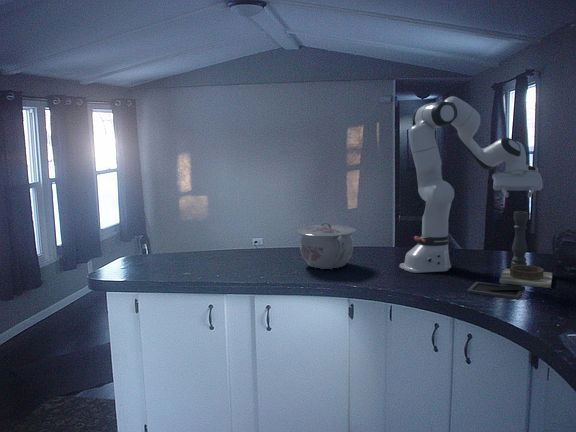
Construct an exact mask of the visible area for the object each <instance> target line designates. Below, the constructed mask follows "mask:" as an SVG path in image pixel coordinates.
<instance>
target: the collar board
mask: <svg viewBox="0 0 576 432" xmlns="http://www.w3.org/2000/svg"><path fill="white" fill-rule="evenodd" d="M552 280H553V272H548V271H545V270H544V268H542V267H540V266H535V265H531V264H530V265H528V264H527V265H514V266H511V265H510V267H509V268H504V270H503V271H502V274H501V276H500V278H499V284H503V285H517V286H525V287H537V288H546V289H547V288H548V289H551V287H552Z"/></svg>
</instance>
